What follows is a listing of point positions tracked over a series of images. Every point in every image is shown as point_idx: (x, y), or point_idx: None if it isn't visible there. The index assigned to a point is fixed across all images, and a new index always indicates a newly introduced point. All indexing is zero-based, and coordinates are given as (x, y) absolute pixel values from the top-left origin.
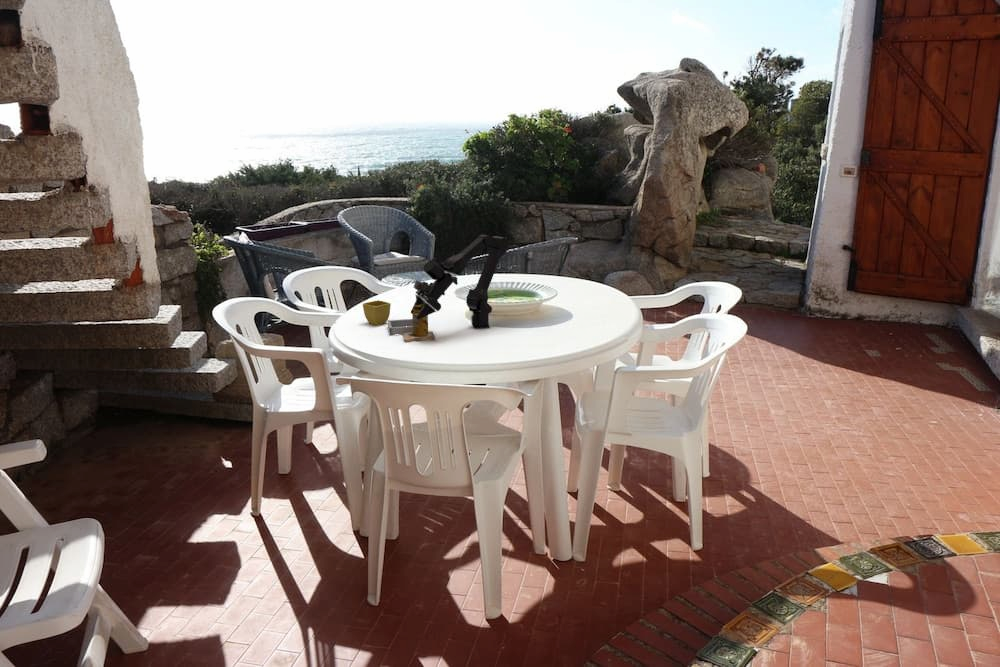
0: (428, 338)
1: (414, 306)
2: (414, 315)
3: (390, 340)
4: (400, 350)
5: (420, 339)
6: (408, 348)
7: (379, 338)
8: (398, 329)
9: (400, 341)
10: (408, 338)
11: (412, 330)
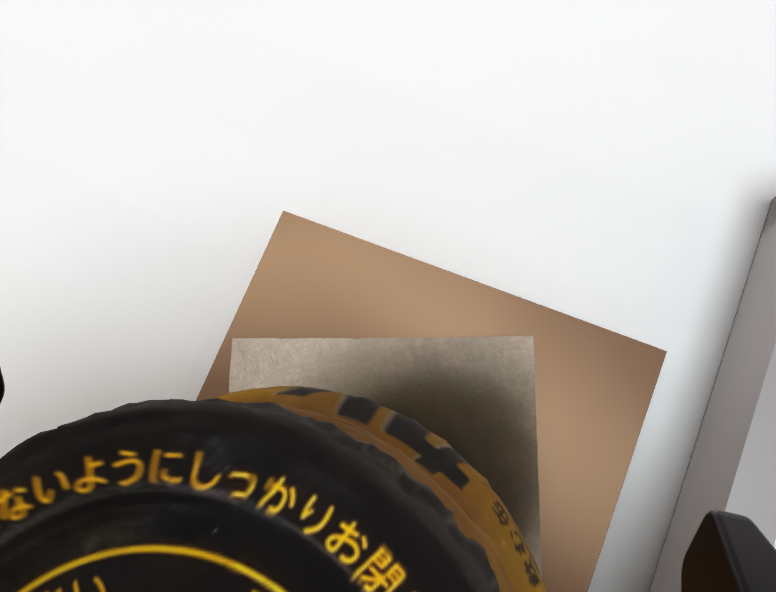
0: None
1: (203, 462)
2: (213, 398)
3: (501, 107)
4: (8, 41)
5: None
6: (10, 150)
7: (692, 24)
8: (771, 306)
9: (368, 198)
10: (309, 291)
11: (683, 554)
